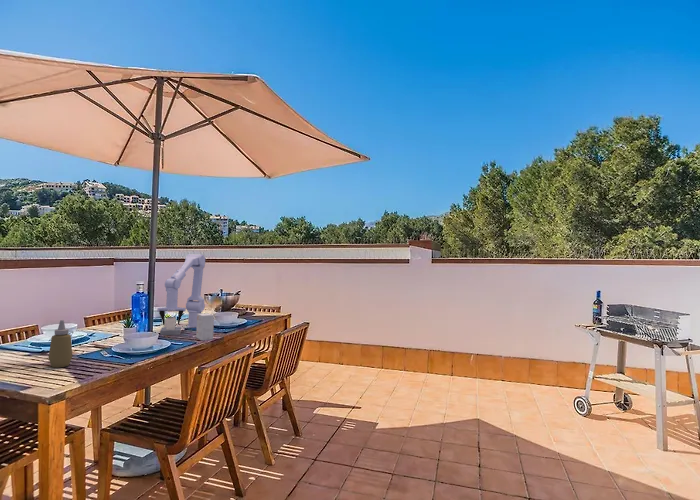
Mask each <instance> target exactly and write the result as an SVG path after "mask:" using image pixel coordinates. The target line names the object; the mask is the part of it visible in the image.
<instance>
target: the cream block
mask: <svg viewBox="0 0 700 500" xmlns="http://www.w3.org/2000/svg"><path fill="white" fill-rule="evenodd" d="M176 322H177V317H173V316H172V317H170V316H169V317H166V324H165V325H166V326H165V327H166V330H175V327H177V326H176V324H177V323H176Z"/></svg>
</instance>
